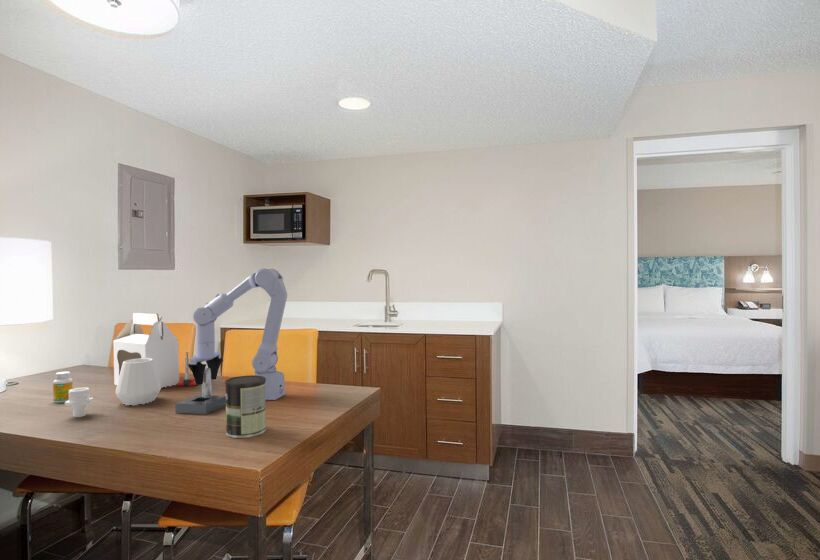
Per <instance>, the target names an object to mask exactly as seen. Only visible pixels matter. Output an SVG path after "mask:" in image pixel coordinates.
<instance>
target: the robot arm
mask: <svg viewBox="0 0 820 560" xmlns="http://www.w3.org/2000/svg"><path fill="white" fill-rule="evenodd" d="M254 288H261V289H263V290H264V291H265V292H266V293H267V295H268V296H269V297H270V303H269V307H268V312H267V316H266V320H265V326H264V329H263V334H262V338H261V342H260V344H259V346H258V348H257V352H256V354H255V356H253V359H252V362H251V364H252V368H253V370H254V375H256V376H263V377H265V378H266V381H265V401H275V400H278V399H280V398H281V397H284V396H285V395H286V394H287V393H285V392H286V391H285V389H286V387H285V375H284V374H285V373H284V372H282V371H278V369H277V367H276V365H277V363H278V361H279V356H278V349H279V348H278V346H277V345H278V339H279V335H280V329H281V326H282V321H283V316H284V312H285V308H286V303H287V298H288V291H287V289H286V286H285V283H284V277H283V276H282V274H280V272H279V271H278V270H276V269H274V268H260V269H258V270H257V271H256V272H253V273H252V274H250V275H249V276H247V277H246V278H245V279H244V280H243V281H241V282H240V283H239V284H237V285H236V286H235V287H234V288H233V289H231V290H230V291H229V292H227V293H223V292H222V293H217V294H216V295H214V299H212V300H210V301H209V302H206V303H204V304H203V305H204V307H203V306H201V307H198V308H196V310H195V311H194V312H193V316H192V319H193V321H194V322H195V323H196V324H195V325H196V354H194V356H193V357H191V358H189V364H188V367H189V371H191V373H192V376H193V380H195V382H196V385H201V386H202V384H203V378H204V371H205V368H211V381H215V380H217V377H218V373H219V369H220V368H221V367H220V366H221V364H222V363H223V359H224V358H222V353H221V351H216V346H215V345H216V342H215V339H216V338H215V322H216V321H217V319H218V317H220V316H222V314H225V313H226V312H227V311H228V310H230V309H231V308H232V307H233V306H234V301H236V300H237V299H239V298H240V297H242V296H243V295H245V294H246V293H247V292H249V291H251V290H252V289H254ZM203 362H206V364H205V363H203Z"/></svg>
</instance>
